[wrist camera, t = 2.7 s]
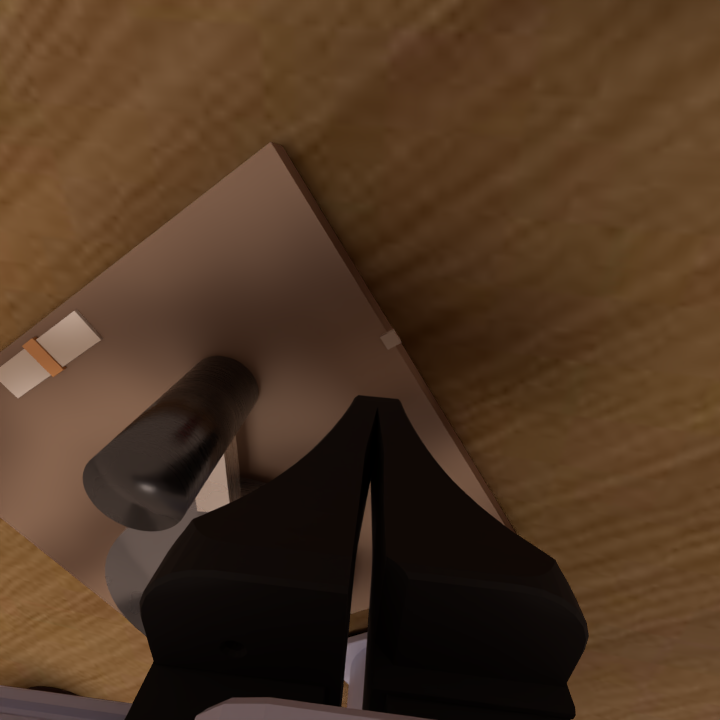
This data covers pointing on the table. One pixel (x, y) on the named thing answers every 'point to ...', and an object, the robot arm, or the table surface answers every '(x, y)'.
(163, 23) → the table surface
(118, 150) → the table surface
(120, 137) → the table surface
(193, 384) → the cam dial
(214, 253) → the brown square panel
